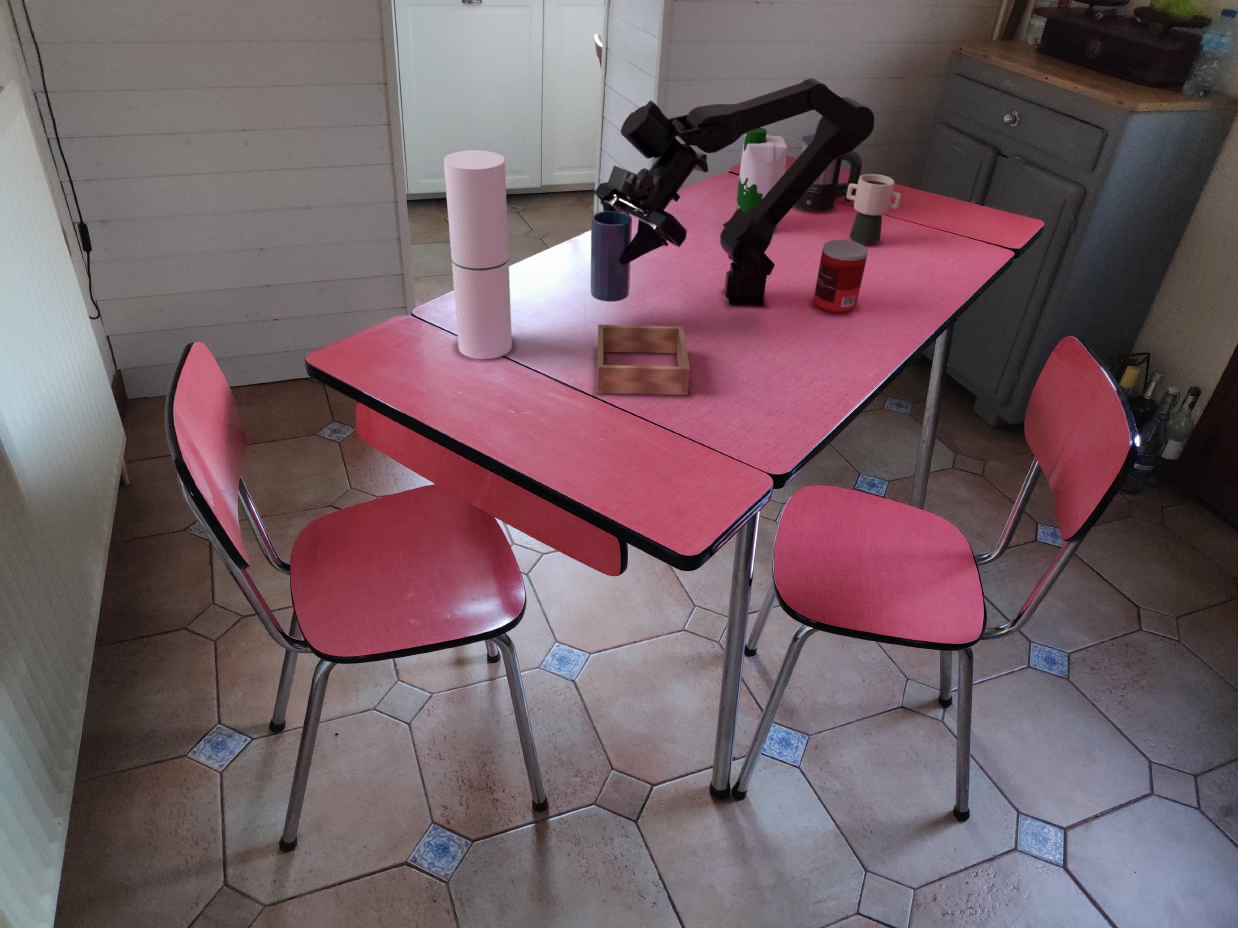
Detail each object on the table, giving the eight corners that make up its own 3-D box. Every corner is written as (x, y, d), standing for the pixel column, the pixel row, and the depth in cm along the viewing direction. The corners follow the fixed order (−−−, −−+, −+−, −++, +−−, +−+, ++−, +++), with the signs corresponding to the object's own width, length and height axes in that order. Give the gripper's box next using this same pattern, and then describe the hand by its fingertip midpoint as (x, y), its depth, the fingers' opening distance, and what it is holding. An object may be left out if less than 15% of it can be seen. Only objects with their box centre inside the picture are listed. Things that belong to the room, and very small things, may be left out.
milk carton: (732, 217, 195) (743, 123, 183) (773, 219, 195) (786, 125, 183) (735, 232, 187) (747, 135, 176) (778, 234, 188) (792, 137, 176)
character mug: (894, 241, 187) (908, 180, 179) (884, 252, 182) (899, 189, 174) (844, 230, 191) (855, 169, 183) (833, 241, 186) (845, 179, 178)
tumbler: (633, 288, 150) (636, 214, 143) (622, 304, 146) (624, 228, 138) (597, 282, 152) (599, 208, 144) (585, 298, 147) (585, 222, 139)
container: (460, 333, 147) (446, 150, 129) (512, 333, 148) (505, 150, 130) (456, 359, 140) (441, 169, 123) (511, 359, 141) (504, 169, 123)
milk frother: (791, 211, 199) (801, 143, 190) (792, 188, 212) (802, 123, 203) (855, 217, 197) (869, 149, 189) (852, 193, 210) (865, 129, 201)
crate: (680, 351, 145) (682, 326, 142) (687, 395, 134) (689, 369, 131) (597, 349, 145) (598, 324, 142) (597, 393, 134) (598, 367, 131)
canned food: (860, 301, 162) (872, 244, 156) (850, 319, 156) (862, 260, 150) (819, 292, 165) (829, 236, 158) (807, 309, 159) (818, 251, 152)
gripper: (604, 132, 143) (547, 211, 144) (677, 163, 131) (614, 250, 132) (641, 172, 152) (587, 247, 153) (712, 205, 140) (653, 286, 141)
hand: (608, 256), depth 145 cm, fingers closed on tumbler, 6 cm apart
